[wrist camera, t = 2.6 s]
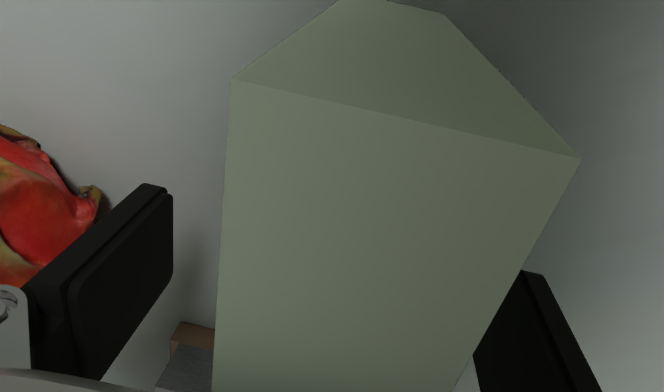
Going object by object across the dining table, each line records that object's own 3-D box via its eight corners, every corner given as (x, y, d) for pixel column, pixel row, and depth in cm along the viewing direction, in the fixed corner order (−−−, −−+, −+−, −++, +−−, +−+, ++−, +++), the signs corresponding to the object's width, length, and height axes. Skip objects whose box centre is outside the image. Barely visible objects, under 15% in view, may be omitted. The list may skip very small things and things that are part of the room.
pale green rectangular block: (350, -8, 13) (230, 79, 3) (443, 13, 13) (582, 159, 3) (295, 274, 19) (199, 584, 10) (358, 289, 19) (324, 615, 10)
